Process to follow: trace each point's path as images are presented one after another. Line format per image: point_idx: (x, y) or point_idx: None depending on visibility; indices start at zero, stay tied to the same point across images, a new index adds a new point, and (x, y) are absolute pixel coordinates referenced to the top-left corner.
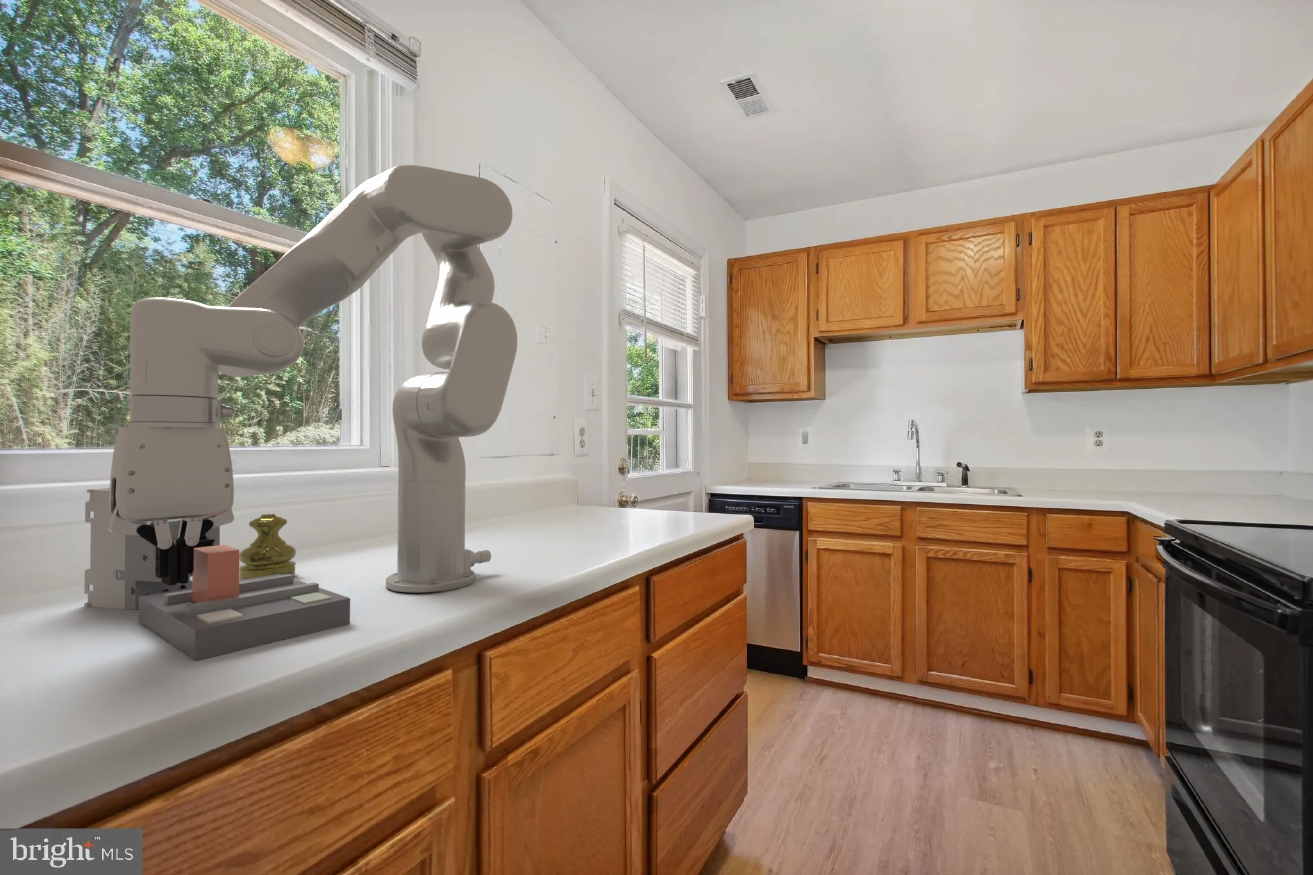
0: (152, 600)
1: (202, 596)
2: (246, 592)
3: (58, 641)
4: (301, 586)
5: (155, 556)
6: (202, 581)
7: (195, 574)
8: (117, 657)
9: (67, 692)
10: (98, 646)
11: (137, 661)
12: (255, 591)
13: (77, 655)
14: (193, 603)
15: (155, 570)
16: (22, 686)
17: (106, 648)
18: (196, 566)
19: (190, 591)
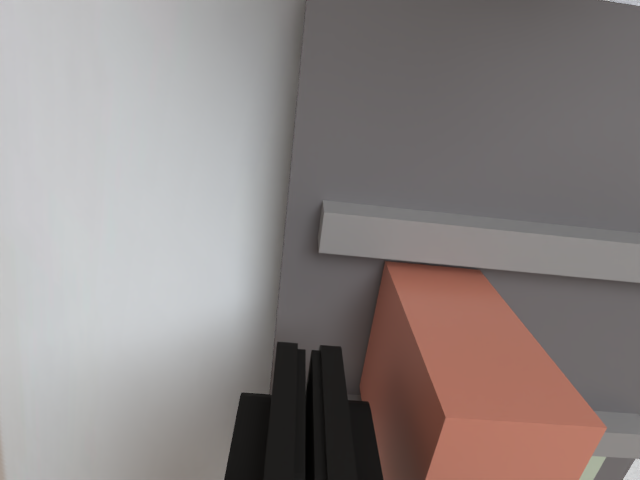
0: (313, 115)
1: (370, 374)
2: (545, 282)
3: (70, 21)
4: (597, 451)
5: (227, 466)
6: (380, 412)
7: (399, 356)
8: (169, 325)
9: (73, 444)
10: (153, 195)
11: (192, 380)
12: (567, 293)
13: (104, 236)
14: (372, 290)
15: (239, 404)
16: (8, 362)
17: (165, 233)
18: (405, 395)
19: (398, 247)
